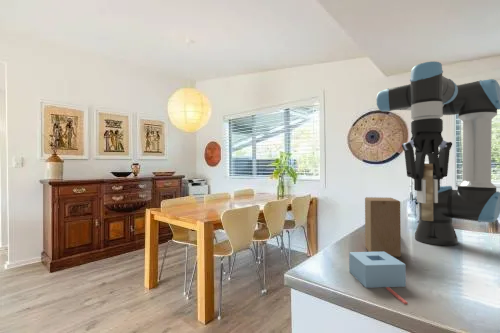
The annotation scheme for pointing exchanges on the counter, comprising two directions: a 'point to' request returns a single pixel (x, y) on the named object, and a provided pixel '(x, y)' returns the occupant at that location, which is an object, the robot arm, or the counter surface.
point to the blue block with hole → (377, 269)
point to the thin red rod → (396, 295)
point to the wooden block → (383, 225)
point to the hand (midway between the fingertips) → (427, 202)
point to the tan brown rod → (428, 193)
